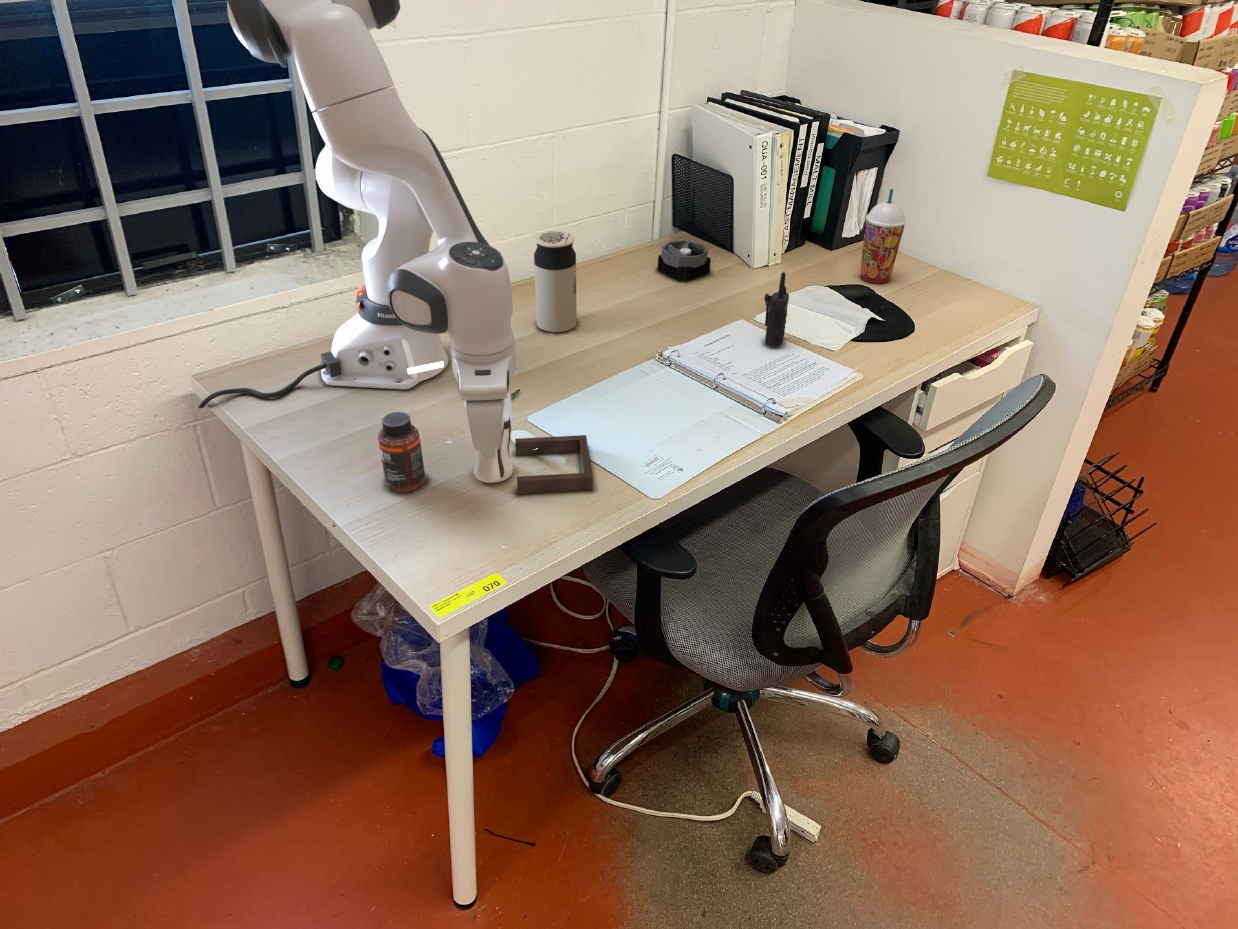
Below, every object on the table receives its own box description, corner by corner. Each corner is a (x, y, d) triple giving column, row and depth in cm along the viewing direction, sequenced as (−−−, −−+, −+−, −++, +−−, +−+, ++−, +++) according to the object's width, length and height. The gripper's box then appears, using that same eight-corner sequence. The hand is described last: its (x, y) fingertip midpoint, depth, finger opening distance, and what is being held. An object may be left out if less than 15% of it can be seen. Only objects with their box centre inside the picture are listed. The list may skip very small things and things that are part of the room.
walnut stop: (517, 494, 135) (517, 481, 134) (515, 451, 144) (515, 438, 143) (592, 490, 136) (592, 476, 135) (586, 447, 146) (586, 434, 144)
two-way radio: (779, 350, 174) (789, 276, 165) (756, 346, 175) (765, 273, 167) (785, 337, 178) (794, 265, 170) (762, 334, 179) (771, 262, 171)
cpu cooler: (683, 259, 195) (652, 245, 201) (681, 284, 198) (651, 270, 204) (717, 248, 200) (686, 235, 207) (715, 273, 204) (684, 259, 210)
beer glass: (507, 487, 136) (502, 401, 127) (463, 481, 137) (455, 395, 128) (521, 461, 141) (517, 377, 133) (479, 455, 142) (472, 371, 134)
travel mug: (531, 330, 179) (527, 243, 168) (543, 313, 185) (540, 228, 175) (570, 335, 177) (569, 247, 167) (581, 318, 184) (580, 232, 173)
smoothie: (848, 273, 205) (864, 184, 194) (881, 269, 207) (898, 181, 196) (867, 287, 199) (884, 197, 187) (901, 283, 201) (920, 194, 189)
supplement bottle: (428, 470, 140) (420, 407, 133) (422, 493, 135) (414, 429, 128) (389, 470, 139) (379, 407, 133) (382, 494, 135) (371, 429, 128)
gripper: (463, 326, 136) (469, 405, 144) (458, 396, 119) (466, 481, 127) (505, 325, 137) (509, 404, 145) (507, 394, 120) (512, 479, 128)
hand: (489, 441), depth 136 cm, fingers closed on beer glass, 6 cm apart
